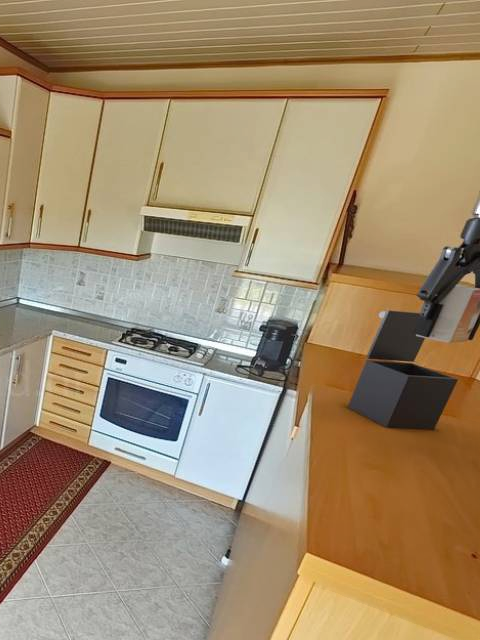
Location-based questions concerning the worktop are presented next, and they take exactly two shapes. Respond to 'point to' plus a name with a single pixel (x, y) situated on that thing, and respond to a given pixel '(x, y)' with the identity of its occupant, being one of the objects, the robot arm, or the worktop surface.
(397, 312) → the bin lid
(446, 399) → the dark gray bin
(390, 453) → the worktop surface
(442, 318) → the small box
